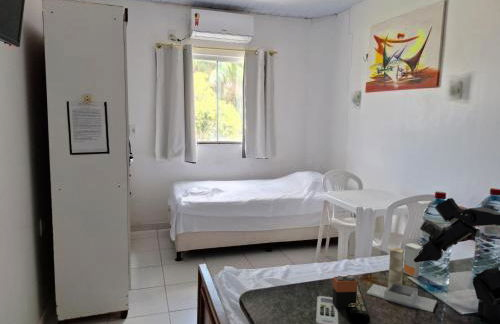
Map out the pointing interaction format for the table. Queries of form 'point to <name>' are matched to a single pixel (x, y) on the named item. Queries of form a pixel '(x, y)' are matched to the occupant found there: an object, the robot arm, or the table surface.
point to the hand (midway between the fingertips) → (417, 257)
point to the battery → (344, 291)
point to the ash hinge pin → (396, 266)
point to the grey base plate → (402, 296)
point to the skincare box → (411, 259)
